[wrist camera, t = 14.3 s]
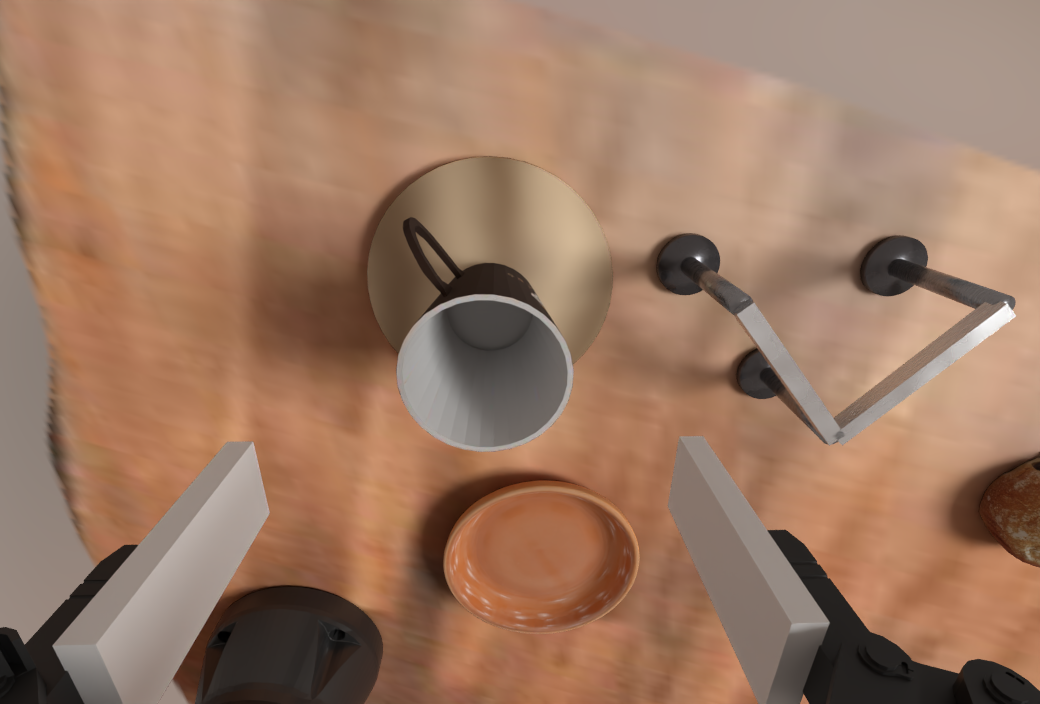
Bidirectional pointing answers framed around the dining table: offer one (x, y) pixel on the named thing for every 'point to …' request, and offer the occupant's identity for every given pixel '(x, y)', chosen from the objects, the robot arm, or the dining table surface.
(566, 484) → the saucer
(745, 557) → the robot arm
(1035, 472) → the bread roll
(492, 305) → the coffee mug
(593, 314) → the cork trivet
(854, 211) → the dining table surface
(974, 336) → the bent wire
